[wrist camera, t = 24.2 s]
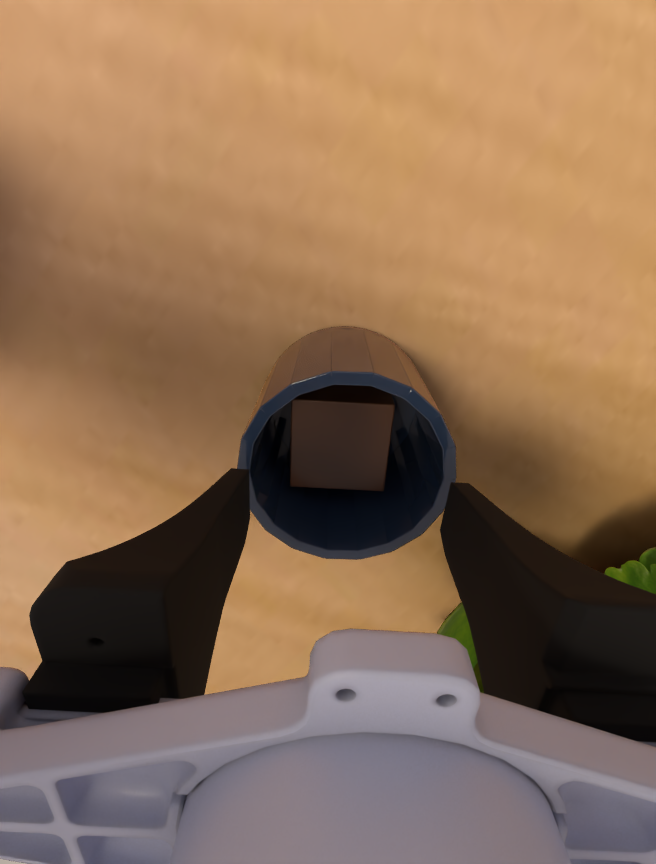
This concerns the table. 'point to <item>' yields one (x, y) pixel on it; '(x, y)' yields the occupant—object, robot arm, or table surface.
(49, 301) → the table surface
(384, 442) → the block
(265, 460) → the cup
